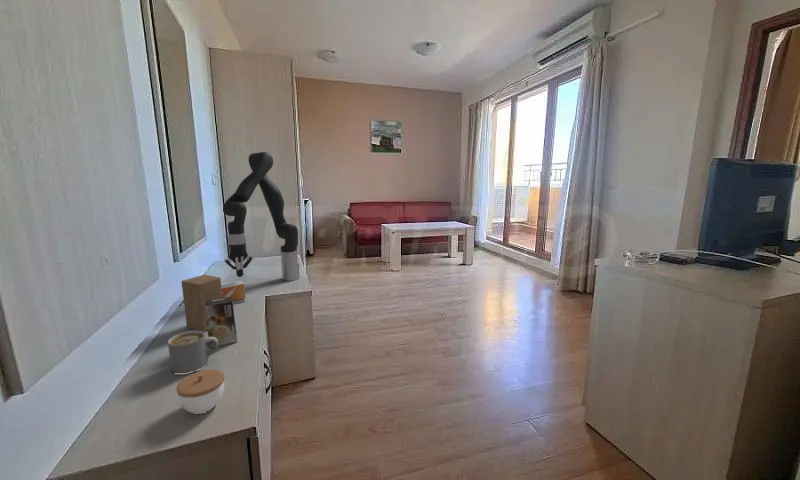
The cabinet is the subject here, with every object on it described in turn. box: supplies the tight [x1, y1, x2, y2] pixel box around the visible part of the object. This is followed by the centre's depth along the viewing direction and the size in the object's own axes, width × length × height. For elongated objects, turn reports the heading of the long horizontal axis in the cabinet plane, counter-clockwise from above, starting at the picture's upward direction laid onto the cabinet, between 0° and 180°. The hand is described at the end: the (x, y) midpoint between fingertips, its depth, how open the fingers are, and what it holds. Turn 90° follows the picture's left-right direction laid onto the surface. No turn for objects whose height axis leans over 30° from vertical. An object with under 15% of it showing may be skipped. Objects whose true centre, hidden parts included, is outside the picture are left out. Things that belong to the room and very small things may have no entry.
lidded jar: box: [176, 368, 225, 414], centre depth 87 cm, size 11×11×9 cm
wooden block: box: [181, 274, 222, 333], centre depth 133 cm, size 10×10×20 cm
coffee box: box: [205, 297, 238, 348], centre depth 121 cm, size 9×6×16 cm
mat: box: [233, 299, 246, 305], centre depth 161 cm, size 18×14×1 cm
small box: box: [221, 280, 246, 301], centre depth 161 cm, size 8×6×13 cm
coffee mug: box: [167, 330, 220, 373], centre depth 106 cm, size 13×10×10 cm
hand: (240, 276), depth 164 cm, fingers closed
